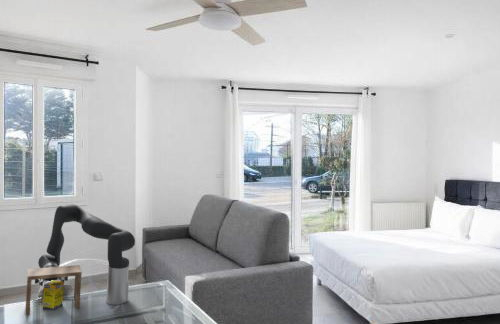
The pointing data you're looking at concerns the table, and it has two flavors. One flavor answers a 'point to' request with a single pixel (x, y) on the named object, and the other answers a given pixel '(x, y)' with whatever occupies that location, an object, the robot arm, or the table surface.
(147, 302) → the table surface
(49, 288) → the supplement box
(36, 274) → the walnut shelf
